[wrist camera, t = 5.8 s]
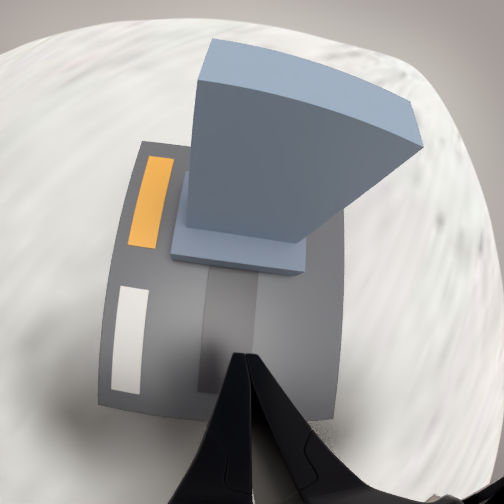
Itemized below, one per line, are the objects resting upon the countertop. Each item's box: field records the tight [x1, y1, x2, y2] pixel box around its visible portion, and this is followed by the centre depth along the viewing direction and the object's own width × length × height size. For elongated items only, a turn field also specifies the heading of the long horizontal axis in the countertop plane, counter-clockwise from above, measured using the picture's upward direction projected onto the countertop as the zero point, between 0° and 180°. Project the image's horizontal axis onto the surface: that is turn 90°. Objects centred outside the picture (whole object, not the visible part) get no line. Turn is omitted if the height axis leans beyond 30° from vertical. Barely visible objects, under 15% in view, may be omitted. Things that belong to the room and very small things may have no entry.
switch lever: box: [171, 39, 423, 276], centre depth 10 cm, size 4×6×10 cm, turn 85°
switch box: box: [98, 141, 344, 421], centre depth 15 cm, size 14×12×2 cm
